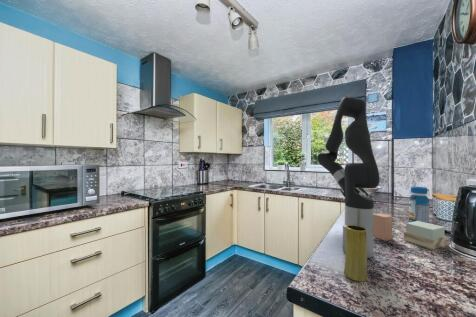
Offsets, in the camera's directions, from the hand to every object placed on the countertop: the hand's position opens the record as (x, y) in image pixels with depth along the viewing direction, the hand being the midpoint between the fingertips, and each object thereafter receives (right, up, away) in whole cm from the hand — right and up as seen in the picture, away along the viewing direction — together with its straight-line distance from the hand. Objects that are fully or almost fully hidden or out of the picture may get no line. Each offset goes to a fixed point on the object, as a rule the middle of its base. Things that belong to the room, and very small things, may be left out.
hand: (364, 205), depth 98 cm
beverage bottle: (+37, -13, +12) cm, 41 cm away
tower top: (+17, -9, -13) cm, 23 cm away
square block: (+3, -13, -8) cm, 15 cm away
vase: (-26, -12, -38) cm, 48 cm away
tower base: (+17, -13, -13) cm, 25 cm away
